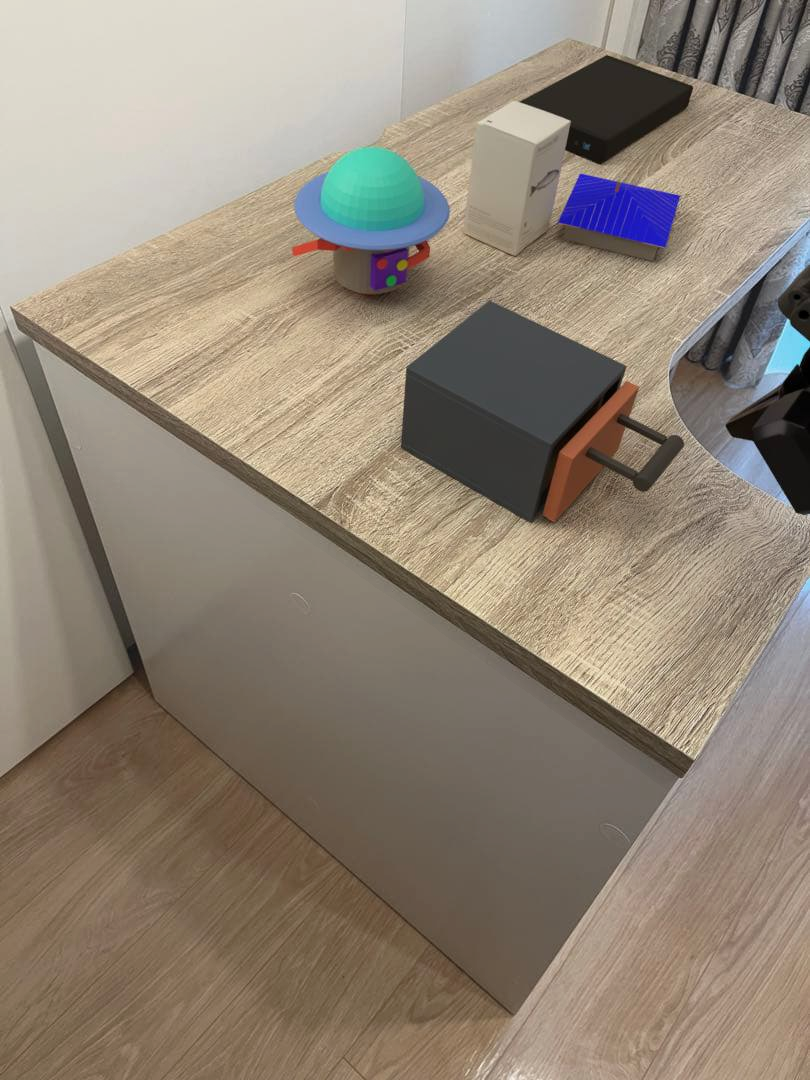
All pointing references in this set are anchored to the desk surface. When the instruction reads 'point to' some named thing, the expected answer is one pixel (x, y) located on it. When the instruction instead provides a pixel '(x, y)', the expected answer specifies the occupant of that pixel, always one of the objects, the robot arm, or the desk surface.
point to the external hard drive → (611, 105)
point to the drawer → (602, 451)
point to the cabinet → (501, 403)
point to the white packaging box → (514, 176)
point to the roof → (618, 216)
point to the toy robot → (371, 218)
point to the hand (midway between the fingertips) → (730, 428)
